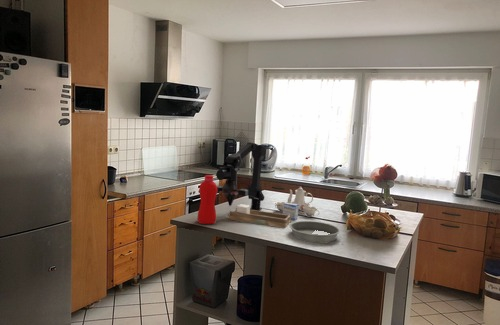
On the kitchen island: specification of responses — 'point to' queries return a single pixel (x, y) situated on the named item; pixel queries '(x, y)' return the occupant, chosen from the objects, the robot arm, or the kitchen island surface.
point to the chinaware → (299, 203)
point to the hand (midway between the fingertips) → (230, 205)
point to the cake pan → (306, 229)
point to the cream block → (243, 208)
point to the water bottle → (207, 201)
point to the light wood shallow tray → (262, 218)
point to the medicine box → (291, 210)
